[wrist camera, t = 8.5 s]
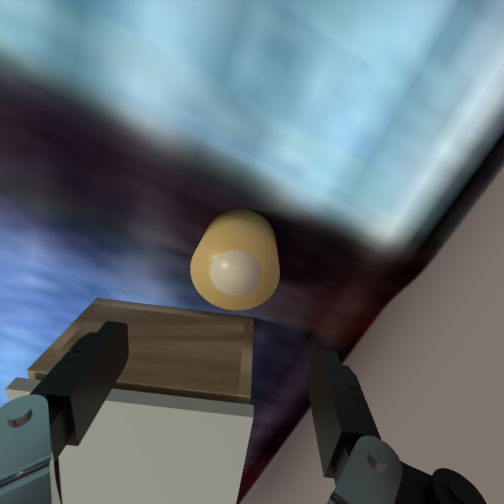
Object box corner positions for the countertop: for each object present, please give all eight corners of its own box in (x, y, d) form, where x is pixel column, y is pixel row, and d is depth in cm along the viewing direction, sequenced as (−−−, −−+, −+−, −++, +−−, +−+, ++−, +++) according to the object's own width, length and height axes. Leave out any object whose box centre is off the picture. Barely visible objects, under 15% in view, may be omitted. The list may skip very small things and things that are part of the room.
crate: (96, 298, 25) (27, 370, 17) (253, 317, 25) (250, 396, 18) (111, 430, 32) (67, 520, 25) (233, 444, 32) (225, 536, 25)
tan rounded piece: (207, 203, 21) (192, 225, 16) (281, 213, 21) (287, 238, 16) (203, 269, 23) (188, 305, 19) (269, 278, 23) (272, 315, 19)
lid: (16, 377, 17) (5, 389, 16) (253, 405, 17) (253, 417, 17) (64, 521, 25) (58, 533, 24) (227, 538, 25) (226, 550, 24)
